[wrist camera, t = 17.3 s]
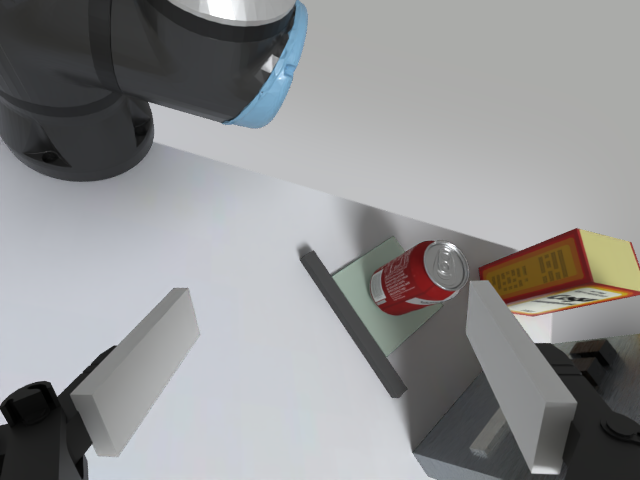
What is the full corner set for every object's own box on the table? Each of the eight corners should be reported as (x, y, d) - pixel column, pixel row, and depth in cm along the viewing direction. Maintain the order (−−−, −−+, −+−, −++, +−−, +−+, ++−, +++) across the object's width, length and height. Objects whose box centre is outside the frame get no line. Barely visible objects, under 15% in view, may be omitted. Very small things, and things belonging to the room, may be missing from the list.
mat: (330, 277, 45) (332, 276, 44) (391, 236, 51) (393, 235, 50) (385, 357, 43) (386, 357, 43) (441, 306, 49) (443, 305, 49)
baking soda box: (525, 276, 57) (634, 241, 43) (533, 316, 54) (652, 292, 40) (478, 267, 54) (579, 226, 40) (484, 309, 51) (595, 280, 38)
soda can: (363, 309, 44) (417, 286, 34) (369, 261, 47) (421, 226, 37) (409, 322, 46) (474, 304, 35) (412, 275, 49) (474, 245, 38)
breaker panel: (404, 440, 40) (638, 498, 19) (493, 340, 50) (713, 307, 29) (428, 476, 40) (696, 576, 19) (513, 368, 49) (753, 354, 28)
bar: (299, 260, 44) (303, 256, 43) (309, 254, 45) (313, 250, 44) (391, 397, 42) (398, 397, 40) (400, 388, 42) (407, 389, 41)
